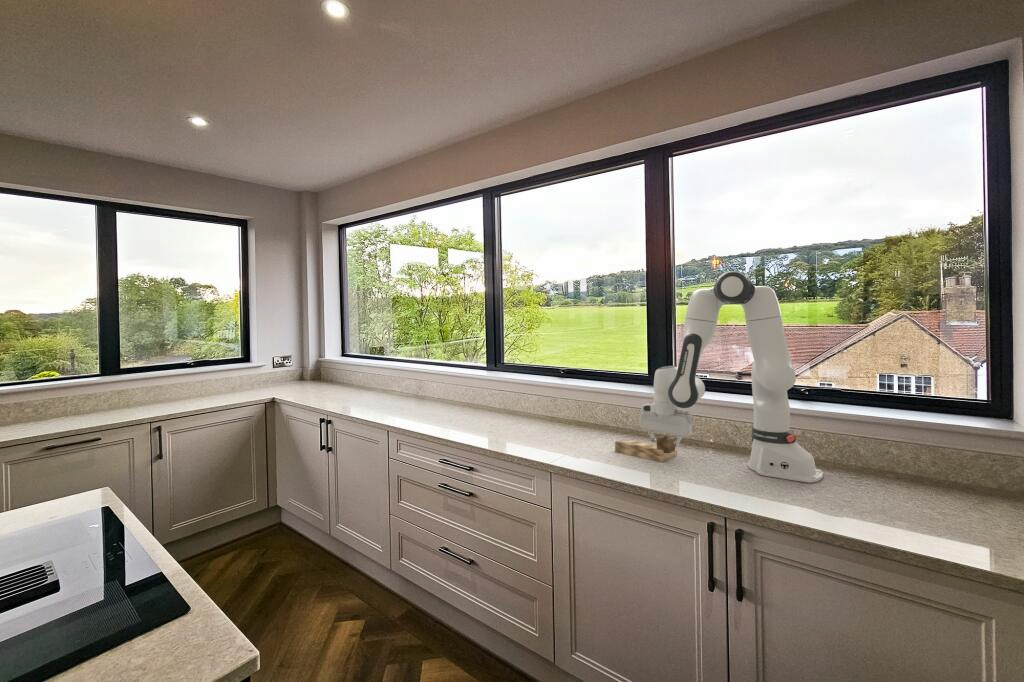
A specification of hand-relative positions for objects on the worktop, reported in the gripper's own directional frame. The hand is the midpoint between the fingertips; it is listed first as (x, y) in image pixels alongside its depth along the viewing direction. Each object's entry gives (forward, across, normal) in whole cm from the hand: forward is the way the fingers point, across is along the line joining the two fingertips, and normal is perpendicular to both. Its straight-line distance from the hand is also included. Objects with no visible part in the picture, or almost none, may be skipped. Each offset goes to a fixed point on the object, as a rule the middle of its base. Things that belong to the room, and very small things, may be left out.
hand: (664, 443), depth 182 cm
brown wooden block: (+3, 0, 0) cm, 3 cm away
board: (+5, +7, +2) cm, 9 cm away
